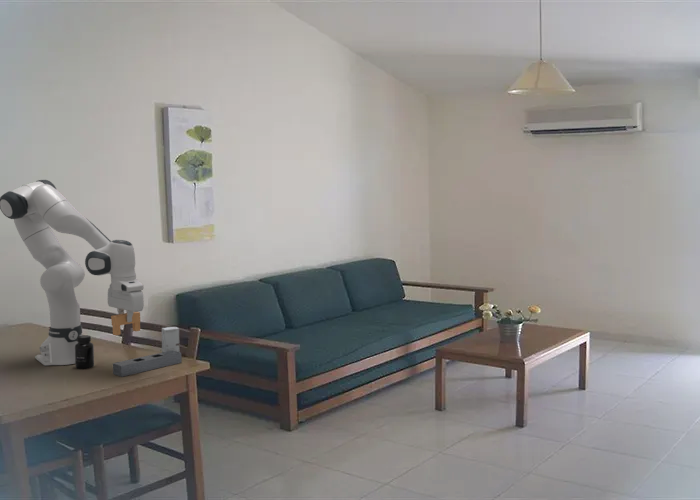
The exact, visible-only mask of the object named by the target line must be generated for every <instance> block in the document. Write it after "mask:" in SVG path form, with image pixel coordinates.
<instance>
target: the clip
mask: <svg viewBox="0 0 700 500" xmlns="http://www.w3.org/2000/svg"><path fill="white" fill-rule="evenodd" d="M110 317H111V319H110V320H111V321H110V322H111V326H112V335H113V336H120V335H121V333H122V331H121V326H124V325H130V324H132V332H139V331H141V311H139V312H134V313H133V316H132V322H126V317H127V313H126V312H124V314H114V315H111V316H110Z"/></svg>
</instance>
